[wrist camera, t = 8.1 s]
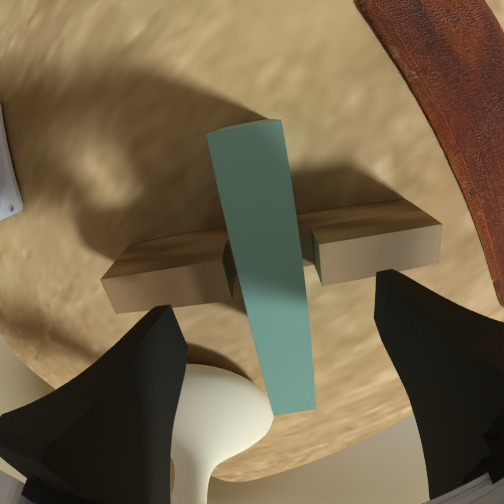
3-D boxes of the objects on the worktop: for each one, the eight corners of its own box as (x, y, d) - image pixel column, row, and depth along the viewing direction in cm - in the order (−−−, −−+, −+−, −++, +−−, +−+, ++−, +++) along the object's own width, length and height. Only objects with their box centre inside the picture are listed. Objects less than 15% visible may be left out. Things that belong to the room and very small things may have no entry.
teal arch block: (299, 319, 19) (315, 408, 12) (268, 323, 19) (273, 415, 13) (268, 118, 14) (280, 120, 7) (227, 126, 14) (205, 133, 7)
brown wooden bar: (139, 274, 17) (116, 313, 14) (129, 244, 17) (100, 279, 13) (405, 231, 16) (438, 262, 12) (405, 199, 15) (442, 224, 12)
